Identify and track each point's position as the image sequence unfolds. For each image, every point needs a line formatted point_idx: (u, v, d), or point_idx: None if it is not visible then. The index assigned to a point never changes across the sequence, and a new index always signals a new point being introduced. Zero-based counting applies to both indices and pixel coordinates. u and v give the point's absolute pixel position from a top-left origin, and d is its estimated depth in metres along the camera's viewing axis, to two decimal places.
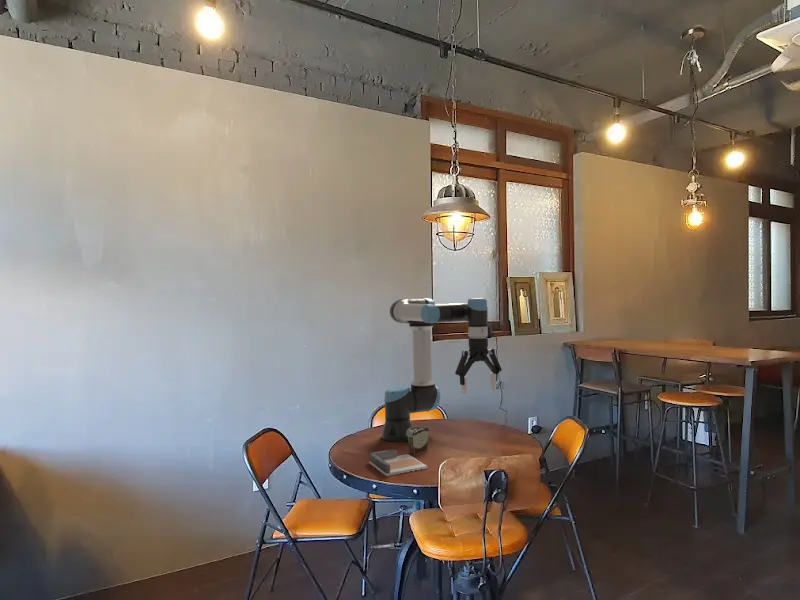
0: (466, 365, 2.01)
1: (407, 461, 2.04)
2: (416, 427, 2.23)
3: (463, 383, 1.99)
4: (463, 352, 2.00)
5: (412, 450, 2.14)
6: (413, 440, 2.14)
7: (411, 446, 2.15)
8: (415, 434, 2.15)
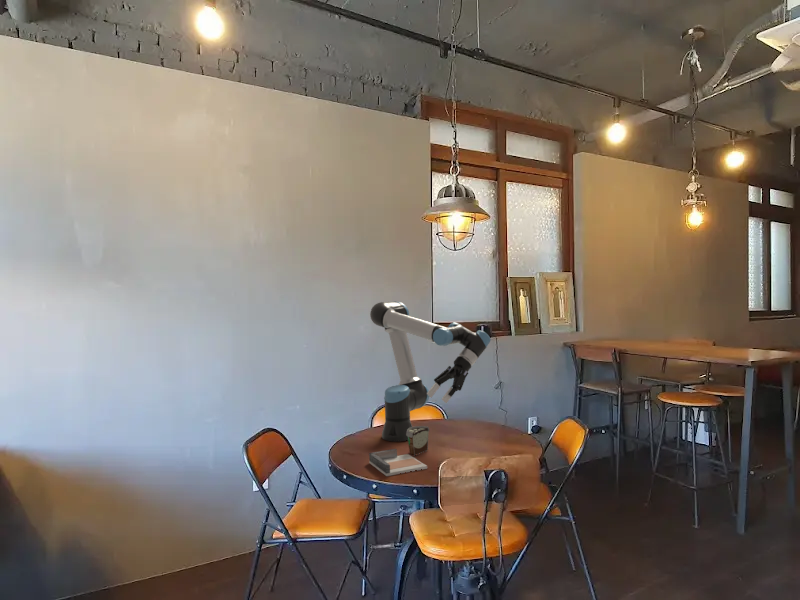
0: (457, 381, 2.21)
1: (407, 461, 2.04)
2: (416, 427, 2.23)
3: None
4: (465, 372, 2.22)
5: (412, 450, 2.14)
6: (413, 440, 2.14)
7: (411, 446, 2.15)
8: (415, 434, 2.15)
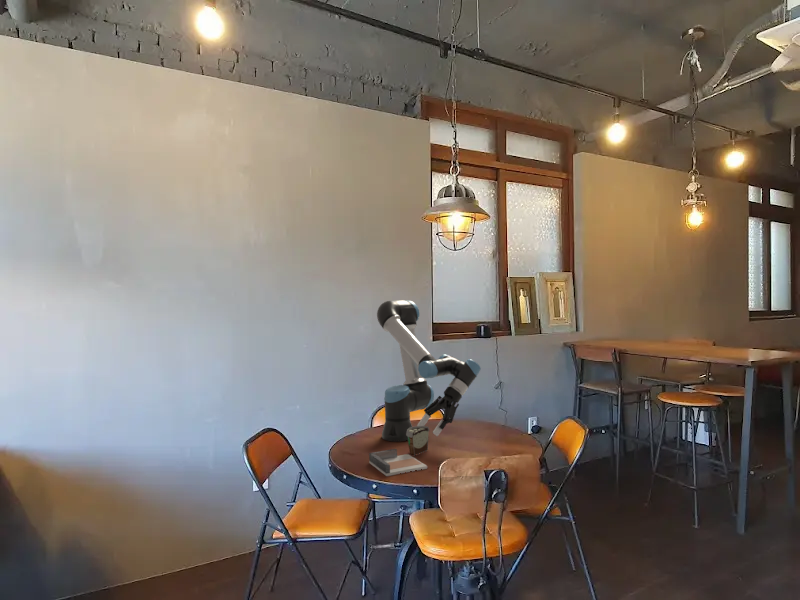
0: (448, 412, 2.18)
1: (407, 461, 2.04)
2: (416, 427, 2.23)
3: None
4: (456, 404, 2.18)
5: (412, 450, 2.14)
6: (413, 440, 2.14)
7: (411, 446, 2.15)
8: (415, 434, 2.15)
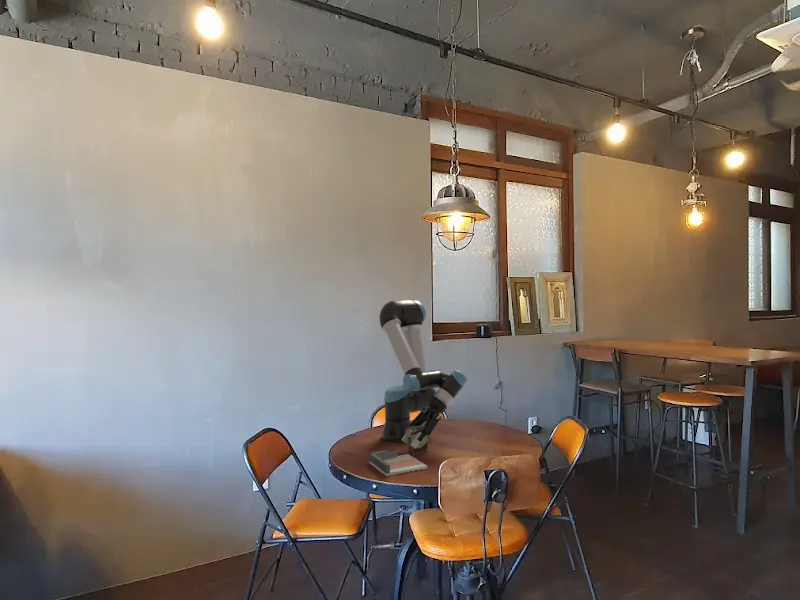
0: (428, 424, 2.17)
1: (407, 461, 2.04)
2: (416, 427, 2.23)
3: None
4: (438, 416, 2.16)
5: (411, 450, 2.14)
6: (412, 440, 2.14)
7: (410, 446, 2.15)
8: (414, 434, 2.15)
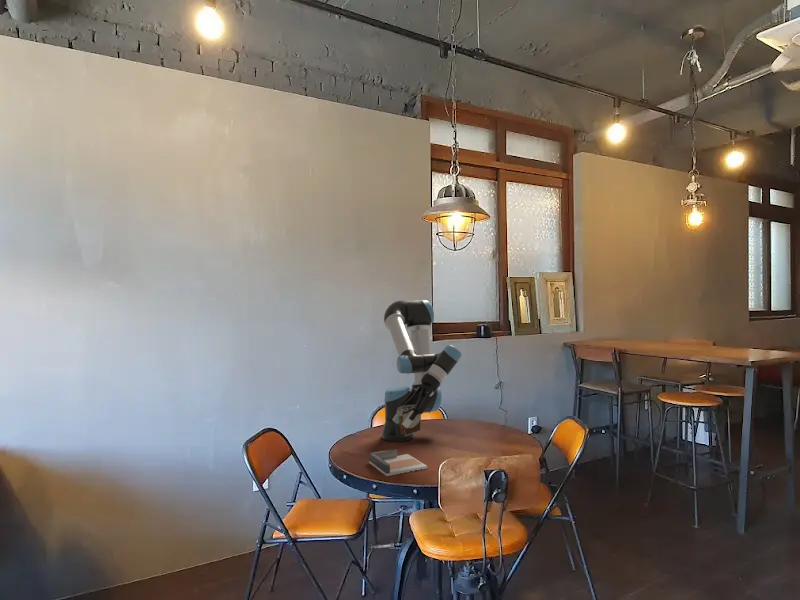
0: (421, 402, 2.02)
1: (407, 461, 2.04)
2: (408, 406, 2.07)
3: None
4: (432, 393, 2.01)
5: (403, 430, 1.99)
6: (403, 419, 1.99)
7: (401, 426, 2.00)
8: (405, 413, 2.00)
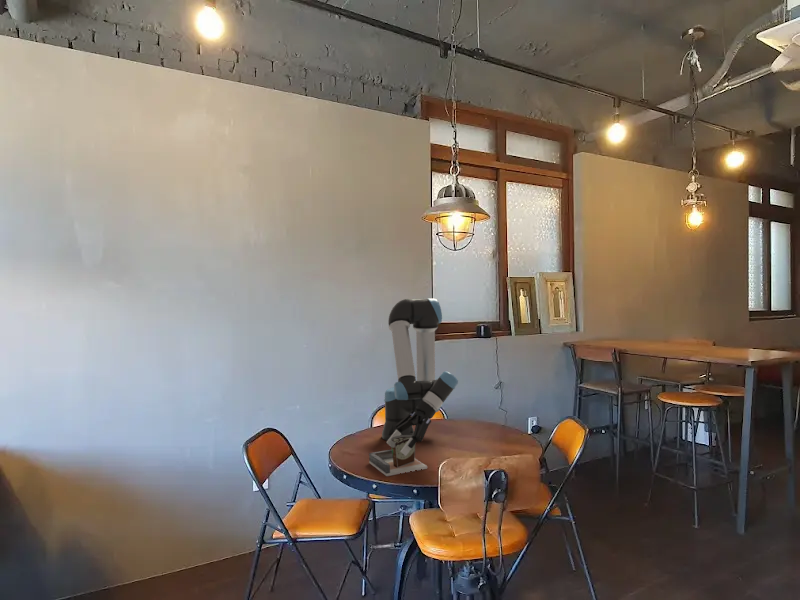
0: (418, 430, 1.98)
1: None
2: (402, 436, 2.05)
3: None
4: (428, 420, 1.99)
5: (395, 461, 1.97)
6: (396, 450, 1.96)
7: (394, 457, 1.97)
8: (399, 444, 1.97)
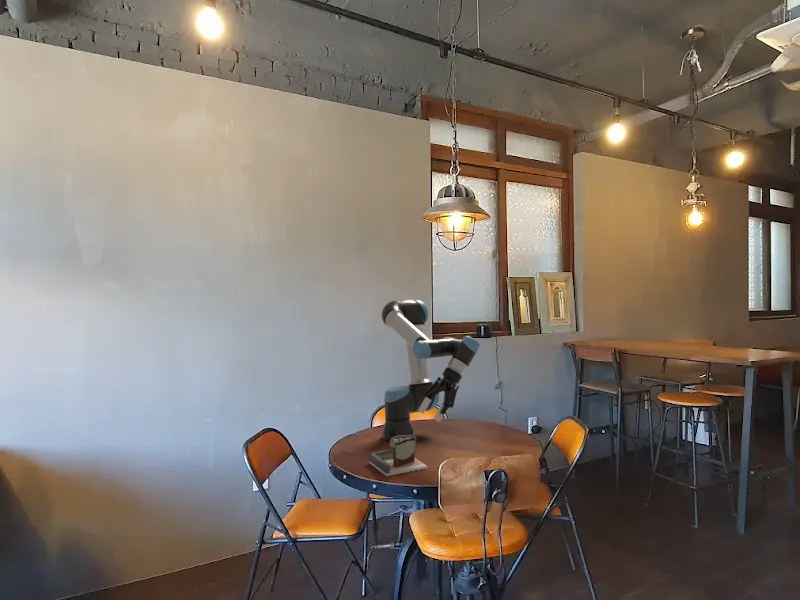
0: (448, 396, 2.06)
1: None
2: (402, 436, 2.05)
3: None
4: (456, 386, 2.06)
5: (395, 461, 1.97)
6: (396, 450, 1.96)
7: (394, 457, 1.97)
8: (399, 444, 1.97)
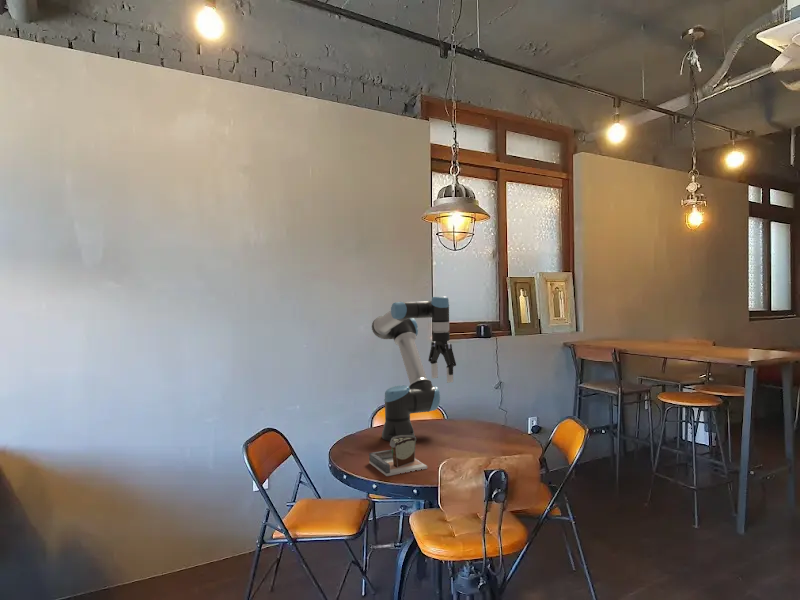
0: (447, 357, 2.22)
1: None
2: (402, 436, 2.05)
3: None
4: (449, 345, 2.21)
5: (395, 461, 1.97)
6: (396, 450, 1.96)
7: (394, 457, 1.97)
8: (399, 444, 1.97)
